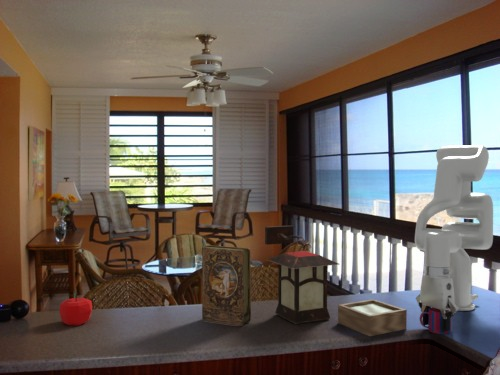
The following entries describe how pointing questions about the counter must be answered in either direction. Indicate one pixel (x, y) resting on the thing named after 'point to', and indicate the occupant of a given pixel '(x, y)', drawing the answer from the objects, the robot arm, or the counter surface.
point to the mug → (434, 321)
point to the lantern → (299, 280)
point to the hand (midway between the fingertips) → (435, 327)
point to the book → (226, 285)
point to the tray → (372, 317)
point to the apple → (75, 311)
